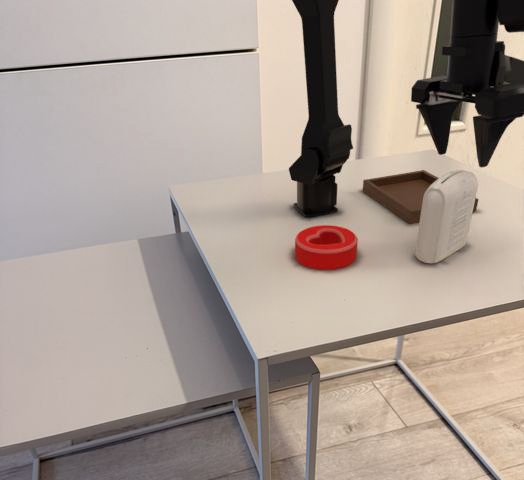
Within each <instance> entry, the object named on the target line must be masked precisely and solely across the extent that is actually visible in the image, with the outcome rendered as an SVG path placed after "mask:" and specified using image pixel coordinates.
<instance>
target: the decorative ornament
mask: <svg viewBox="0 0 524 480" xmlns="http://www.w3.org/2000/svg"><path fill="white" fill-rule="evenodd" d="M358 242H359V241H358V237H357V235H356V233H354V231H352V230H350V229H349V228H346V227H342V226H339V225H338V226H337V225H329V224H326V225H325V224H323V225H321V224H320V225H314V226H310V227H307V228H304V229H302V230H301V231H299V232H298V233H297V235H296V236H295V238H294V258H295V260H296V261H297V262H298V263H299V264H300V265H302V266H304V267H306V268H308V269H314V270H321V271H333V270H339V269H343V268H346V267H348V266H351V265H352V264H354V262H355V261H356V260H357V254H358Z"/></svg>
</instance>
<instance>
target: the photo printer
mask: <svg viewBox="0 0 524 480" xmlns="http://www.w3.org/2000/svg"><path fill="white" fill-rule="evenodd" d="M438 178H439V179H437V180H436V181H435V182H434V183H433V184H431V186H430V187H429V188H428V189H427V190H426V192H425V194H424V197H423V203H422V209H421V216H420V222H418V223H419V224H418V230H417V238H416V243H415V244H416V245H415V252H414V255H415V257H416V258H417V260H419V261H420V262H422V263H426V264H435V263H439V262H441V261H442V260H445V259H446V258H448V257H450V256H451V255H453V254H454V253H456V252H458V251H459V250H460V249H462V248H464V247H465V246H466V244H467V242H468V239H469V238H468V237H469V232H470V227H471V222H472V217H473V213H474V212H473V208H474V203H475V198H477V192H478V188H479V180H478V177H477V176H476V174H475V173H474V172H473V171H469V170H464V169H456V170H453V171H449V172H448V173H446V174H445V173H444V174H443V175H442V176H440V177H438Z"/></svg>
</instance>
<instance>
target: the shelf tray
mask: <svg viewBox="0 0 524 480" xmlns="http://www.w3.org/2000/svg"><path fill="white" fill-rule="evenodd" d="M439 178H440V177H438V176H436V175H434V174H432V173H430V172H429V171H427V170H425V169H422V170H416V171H409V172H404V173H398V174H392V175H385V176H379V177H372V178H367V179H363V180H362V192H363V193H364V194H366V195H367V196H369V197H370V198H372V199H373V200H375V201H376V202H377V203H379V204H380V205H382V206H383V207H384V208H386V209H387V210H389V211H390V212H392V213H393V214H395V215H396V216H398V217H399V218H400V219H401V220H403V221H405V222H406V223H407V224H409V225H412V224H416V223H417V224H418V223H420V216H421V209H422V203H423V197H424V194H425V192H426V190H427V189H428V188H429V187H430V186H431V184H433V183H434V182H435V181H436V180H437V179H439ZM478 204H479V198H478V197H476V198H475V203H474V208H473V213H474V212H477V209H478Z"/></svg>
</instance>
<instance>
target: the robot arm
mask: <svg viewBox="0 0 524 480" xmlns="http://www.w3.org/2000/svg"><path fill="white" fill-rule="evenodd" d="M339 1H340V0H291V2H292V4H293V5H294V7H295V9H296V11H297V13H298V14H299V17H300V19H301V27H302V28H301V29H302V41H303V56H304V57H303V58H304V70H305V81H306V82H305V84H306V96H307V97H306V98H307V113H308V118H307V122H306V125H305V128H304V130H303V134H302V136H301V146H300V156H299V157H298V158H297V159H296V160H295V161H294V162H293V163H292V164H291V165H290V166H289V167H288V173H289V176H290V179H291V181H293V182H296V202H295V203H294V202H293V207H294V208H295V209H296V210H297V211H298V212H299V213H300V214H301V215H303V216H304V218H312V217H318V216H319V217H320V216H323V215H329V214H334V213H338V212H339V208H338V207H336V206H337V205H338V183H337V182H336V174H340V173H341V172H342V169H343V167H344V165H345V164H346V163H347V161H348V160H349V159H350V155H351V150H353V149H354V146H353V142H352V133H353V132H352V131H353V128H352V125H351V124H344V122H343V120H342V119H341V117H340V114H339V100H338V78H337V55H336V53H337V52H336V33H335V32H336V31H335V29H336V28H335V13H336V9H337V7H338V4H339ZM451 5H452V7H451V19H450V31H449V32H450V33H449V35H450V36H449V45H444V46H443V45H442V48H441V56H448V60H447V72H446V73H447V74H446V75H440V76H433V77H428V78H421V79H417V80H416V81H415V82H414V84H413V85H412V87H411V93H410V94H411V95H410V102H411V103H417V104H415V108H416V110H418V111H419V113H420V115H421V117H422V119H423V122H424V123H425V125H426V127H427V130H428V133H429V135H430V137H431V140H432V142H433V144H434V146H435V149H436V152H437V154H438V155H440V156H441V155H442V156H443V155H445V154H447V151H448V146H449V142H450V134H451V128H452V127H451V126H452V121H453V120H452V119H453V115H454V113H455V111H456V110H457V109H458V107H459V105H460V104H461V102H464V103H468V104H474V109H475V111H476V113H477V115H474V116H472V124H473V132H474V140H475V141H474V142H475V150H476V157H477V162H478V166H479V168H482V169H483V168H486V167H488V166H489V163H490V161H491V160H492V158H493V156H494V153H495V151H496V149H497V147H498V145H499V143H500V141H501V138H502V137H503V135H504V133H505V132H506V130H507V128H508V127H509V125H511V124H512V123H513V122H514V121H515V120H516V119H518V118H523V117H524V60H522V59H520V58H517V57H514V56H511V55H507V54H506V44H505V41H504V40H498V35H499V34H498V33H499V26H503V27H504V29H505V31H506V33H508V34H509V33H511V34H513V33H524V0H452V4H451Z"/></svg>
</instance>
